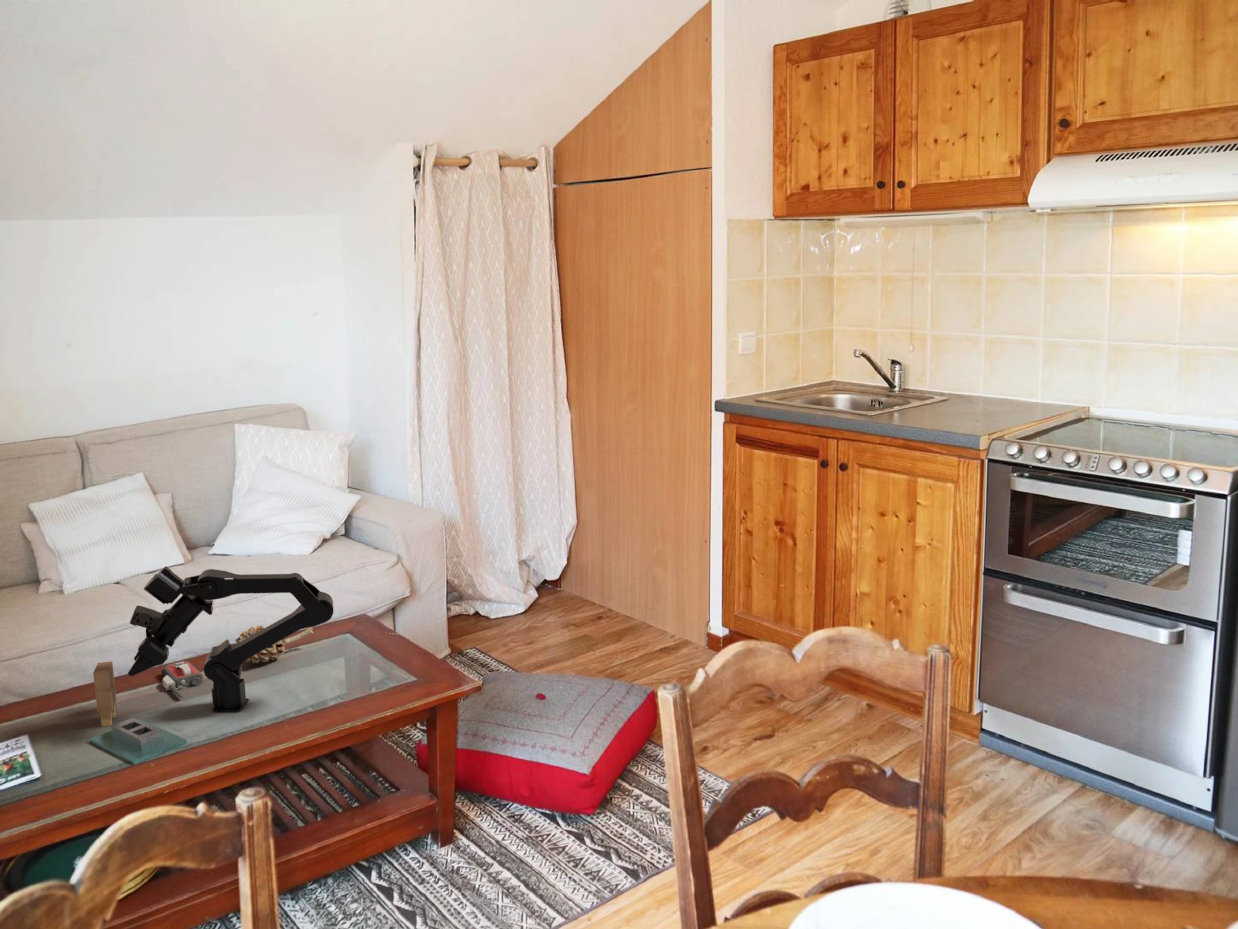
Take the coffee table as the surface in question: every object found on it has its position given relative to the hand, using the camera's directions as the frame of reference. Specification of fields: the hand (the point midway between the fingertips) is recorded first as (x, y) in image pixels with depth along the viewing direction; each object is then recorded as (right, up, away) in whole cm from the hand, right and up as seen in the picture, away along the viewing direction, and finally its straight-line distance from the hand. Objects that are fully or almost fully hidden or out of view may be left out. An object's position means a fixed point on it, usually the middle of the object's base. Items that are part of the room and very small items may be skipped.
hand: (132, 667), depth 243 cm
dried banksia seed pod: (+21, -5, +38) cm, 44 cm away
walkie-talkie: (+3, -9, +21) cm, 23 cm away
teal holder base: (+6, -14, -10) cm, 19 cm away
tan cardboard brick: (-6, -12, +1) cm, 14 cm away
